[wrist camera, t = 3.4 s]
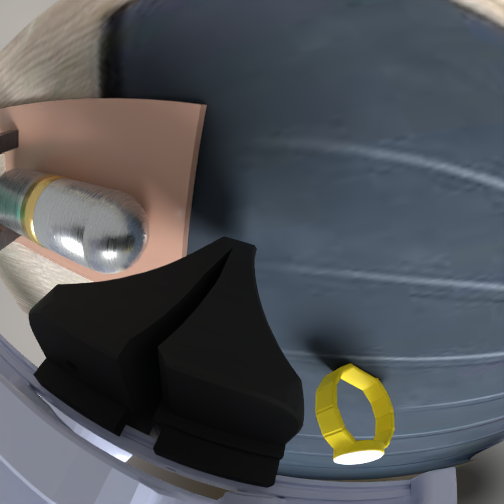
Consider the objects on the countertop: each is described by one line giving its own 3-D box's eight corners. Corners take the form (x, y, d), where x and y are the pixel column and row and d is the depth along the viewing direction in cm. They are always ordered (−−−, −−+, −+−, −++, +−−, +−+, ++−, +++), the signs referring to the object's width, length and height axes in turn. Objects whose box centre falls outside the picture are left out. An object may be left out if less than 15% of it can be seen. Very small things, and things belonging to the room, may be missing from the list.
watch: (397, 376, 15) (409, 455, 10) (367, 394, 16) (371, 467, 11) (340, 346, 14) (344, 445, 9) (307, 368, 15) (301, 458, 10)
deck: (206, 104, 10) (201, 104, 9) (182, 310, 15) (178, 316, 15) (-24, 114, 12) (-29, 115, 11) (-15, 216, 17) (-19, 219, 17)
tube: (167, 187, 11) (114, 219, 8) (163, 258, 13) (121, 304, 10) (22, 158, 12) (-21, 175, 9) (26, 208, 14) (-12, 230, 11)
